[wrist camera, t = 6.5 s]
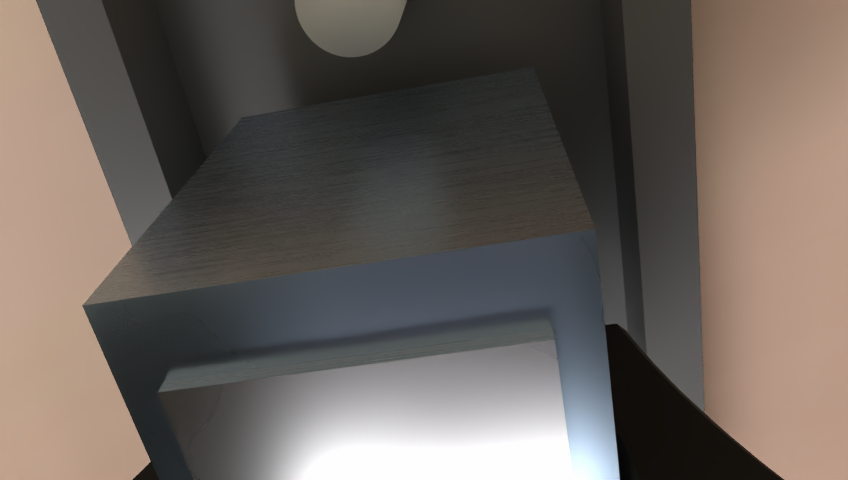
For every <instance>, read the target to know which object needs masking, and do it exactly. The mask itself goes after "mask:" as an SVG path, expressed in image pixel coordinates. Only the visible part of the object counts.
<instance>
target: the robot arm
mask: <svg viewBox="0 0 848 480" xmlns="http://www.w3.org/2000/svg"><path fill="white" fill-rule="evenodd" d="M605 331H606V341H607V352H608V362H609V372H610V382H611V393H612V403H613V413H614V423H615V434H616V444H617V454H618V464H619V475H620V480H784V479H783V478H781V477H780V476H779V475H777V474H776V473H775V472H773V471H772V470H771V469H770V468H768V467H767V466H766V465H765V464H763V463H762V462H761V461H759V460H758V459H757V458H756V457H755V456H753V455H752V454H751V453H750V452H749V451H747V450H746V449H745V448H744V447H743V446H741V445H740V444H739V443H738V442H737V441H735V440H734V439H733V438H732V437H731V436H729V435H728V434H727V433H726V432H725V431H724V430H723V429H722V428H720V427H719V426H718V425H717V424H716V423H715V422H714V421H712V420H711V419H710V418H709V417H708V416H707V415H706V414H705V413H704V412H703V411H702V410H701V409H700V408H699V407H698V406H697V405H695V404H694V403H693V402H692V401H691V400H690V399H689V398H688V397H687V396H686V395H685V394H684V393H683V392H682V391H681V390H680V389H679V388H678V387H677V386H676V385H675V384H674V383H673V382H672V381H671V380H670V379H669V378H668V377H667V376H666V375H665V374H664V373H663V372H662V371H661V370H660V369H659V368H658V367H657V366H656V365H655V364H654V363H653V361H652V360H651V359H650V358H649V357H648V356H647V355H646V354H645V353H644V351H643V350H642V349H641V348H640V347H639V346H638V345H637V343H636V342H635V341H634V340H633V339H632V337H631V336H630V335H629V334H628V332H627V331H626V330H625V329H624V328H622V327H621V326H619V325H618V324H610V325H605ZM133 480H159V478H158V476H157V474H156V472H155V469H154V467H153V465H152V463H151V462H150V463H149V464H148V465H147V466H146V467H145V468H144V469H143V470H142V471H141V472H140V473H139V474H138V475H137V476H136V477H135V478H134V479H133Z"/></svg>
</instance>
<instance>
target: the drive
mask: <svg viewBox="0 0 848 480" xmlns="http://www.w3.org/2000/svg"><path fill="white" fill-rule="evenodd" d="M83 308H84V310H85V312H86V315H87V317H88V319H89V322H90V324H91V326H92V328H93V331H94V333H95V335H96V337H97V340H98V342H99V344H100V347H101V349H102V351H103V353H104V356H105V358H106V360H107V362H108V365H109V367H110V369H111V372H112V374H113V376H114V378H115V381H116V383H117V385H118V387H119V390H120V392H121V394H122V397H123V399H124V401H125V403H126V406H127V408H128V410H129V412H130V415H131V417H132V419H133V422H134V424H135V426H136V428H137V431H138V433H139V435H140V438H141V440H142V442H143V444H144V447H145V449H146V451H147V453H148V456H149V458H150V460H151V463H152V465H153V467H154V469H155V472H156V474H157V476H158V478H159V480H620V475H619V464H618V454H617V444H616V434H615V423H614V413H613V403H612V393H611V382H610V372H609V362H608V352H607V341H606V331H605V321H604V311H603V300H602V290H601V280H600V270H599V259H598V249H597V239H596V229H595V227H594V224H593V221H592V219H591V216H590V214H589V211H588V208H587V206H586V203H585V201H584V198H583V195H582V193H581V190H580V188H579V185H578V182H577V180H576V177H575V175H574V172H573V170H572V167H571V164H570V162H569V159H568V157H567V154H566V151H565V149H564V146H563V144H562V141H561V138H560V136H559V133H558V131H557V128H556V125H555V123H554V120H553V118H552V115H551V112H550V110H549V107H548V105H547V102H546V100H545V97H544V94H543V92H542V89H541V87H540V84H539V81H538V79H537V76H536V74H535V71H534V68H533V67H528V68H522V69H517V70H511V71H505V72H499V73H494V74H488V75H482V76H476V77H471V78H465V79H459V80H453V81H448V82H442V83H436V84H430V85H425V86H419V87H413V88H407V89H402V90H396V91H390V92H385V93H379V94H373V95H367V96H362V97H356V98H350V99H344V100H339V101H333V102H327V103H321V104H316V105H310V106H304V107H298V108H293V109H287V110H281V111H275V112H270V113H264V114H258V115H253V116H247V117H242V118H241V119H240V120H239V121H238V122H237V124H236V125H235V126H234V127H233V128H232V130H231V131H230V132H229V133H228V134H227V135H226V137H225V138H224V139H223V140H222V141H221V143H220V144H219V145H218V146H217V147H216V148H215V150H214V151H213V152H212V153H211V154H210V156H209V157H208V158H207V159H206V160H205V161H204V163H203V164H202V165H201V166H200V167H199V169H198V170H197V171H196V172H195V173H194V174H193V176H192V177H191V178H190V179H189V180H188V182H187V183H186V184H185V185H184V186H183V187H182V189H181V190H180V191H179V192H178V193H177V195H176V196H175V197H174V198H173V199H172V200H171V202H170V203H169V204H168V205H167V206H166V208H165V209H164V210H163V211H162V212H161V213H160V215H159V216H158V217H157V218H156V219H155V221H154V222H153V223H152V224H151V225H150V226H149V228H148V229H147V230H146V231H145V232H144V234H143V235H142V236H141V237H140V238H139V239H138V241H137V242H136V243H135V244H134V245H133V247H132V248H131V249H130V250H129V251H128V252H127V254H126V255H125V256H124V257H123V258H122V260H121V261H120V262H119V263H118V264H117V265H116V267H115V268H114V269H113V270H112V271H111V272H110V274H109V275H108V276H107V277H106V278H105V280H104V281H103V282H102V283H101V284H100V285H99V287H98V288H97V289H96V290H95V291H94V293H93V294H92V295H91V296H90V297H89V298H88V300H87V301H86V302H85V303H84V304H83Z"/></svg>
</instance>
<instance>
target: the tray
mask: <svg viewBox="0 0 848 480" xmlns="http://www.w3.org/2000/svg"><path fill="white" fill-rule="evenodd" d="M36 2H37V4H38V7H39V9H40V12H41V14H42V17H43V19H44V22H45V25H46V27H47V30H48V32H49V35H50V37H51V40H52V42H53V45H54V48H55V50H56V53H57V55H58V58H59V60H60V63H61V65H62V68H63V71H64V73H65V76H66V78H67V81H68V83H69V86H70V88H71V91H72V94H73V96H74V99H75V101H76V104H77V106H78V109H79V111H80V114H81V117H82V119H83V122H84V124H85V127H86V129H87V132H88V134H89V137H90V139H91V142H92V145H93V147H94V150H95V152H96V155H97V157H98V160H99V162H100V165H101V168H102V170H103V173H104V175H105V178H106V180H107V183H108V185H109V188H110V191H111V193H112V196H113V198H114V201H115V203H116V206H117V208H118V211H119V214H120V216H121V219H122V221H123V224H124V226H125V229H126V231H127V234H128V237H129V239H130V242H131V244H132V247H133V245H134V244H135V243H136V242H137V241H138V239H139V238H140V237H141V236H142V235H143V234H144V232H145V231H146V230H147V229H148V228H149V226H150V225H151V224H152V223H153V222H154V221H155V219H156V218H157V217H158V216H159V215H160V213H161V212H162V211H163V210H164V209H165V208H166V206H167V205H168V204H169V203H170V202H171V200H172V199H173V198H174V197H175V196H176V195H177V193H178V192H179V191H180V190H181V189H182V187H183V186H184V185H185V184H186V183H187V182H188V180H189V179H190V178H191V177H192V176H193V174H194V173H195V172H196V171H197V170H198V169H199V167H200V166H201V165H202V164H203V163H204V161H205V160H206V159H207V158H208V157H209V156H210V154H211V153H212V152H213V151H214V150H215V148H216V147H217V146H218V145H219V144H220V143H221V141H222V140H223V139H224V138H225V137H226V135H227V134H228V133H229V132H230V131H231V130H232V128H233V127H234V126H235V125H236V124H237V122H238V121H239V120H240V119H241V118H242V117H247V116H253V115H258V114H264V113H270V112H275V111H281V110H287V109H293V108H298V107H304V106H310V105H316V104H321V103H327V102H333V101H339V100H344V99H350V98H356V97H362V96H367V95H373V94H379V93H385V92H390V91H396V90H402V89H407V88H413V87H419V86H425V85H430V84H436V83H442V82H448V81H453V80H459V79H465V78H471V77H476V76H482V75H488V74H494V73H499V72H505V71H511V70H517V69H522V68H528V67H533V68H534V71H535V74H536V76H537V79H538V81H539V84H540V87H541V89H542V92H543V94H544V97H545V100H546V102H547V105H548V107H549V110H550V112H551V115H552V118H553V120H554V123H555V125H556V128H557V131H558V133H559V136H560V138H561V141H562V144H563V146H564V149H565V151H566V154H567V157H568V159H569V162H570V164H571V167H572V170H573V172H574V175H575V177H576V180H577V182H578V185H579V188H580V190H581V193H582V195H583V198H584V201H585V203H586V206H587V208H588V211H589V214H590V216H591V219H592V221H593V224H594V227H595V229H596V239H597V249H598V259H599V270H600V280H601V290H602V300H603V311H604V321H605V325H610V324H618V325H619V326H621V327H622V328H624V329H625V330H626V331H627V332H628V334H629V335H630V336H631V337H632V339H633V340H634V341H635V342H636V343H637V345H638V346H639V347H640V348H641V349H642V350H643V351H644V353H645V354H646V355H647V356H648V357H649V358H650V359H651V360H652V361H653V363H654V364H655V365H656V366H657V367H658V368H659V369H660V370H661V371H662V372H663V373H664V374H665V375H666V376H667V377H668V378H669V379H670V380H671V381H672V382H673V383H674V384H675V385H676V386H677V387H678V388H679V389H680V390H681V391H682V392H683V393H684V394H685V395H686V396H687V397H688V398H689V399H690V400H691V401H692V402H693V403H694V404H695V405H697V406H698V407H699V408H700V409H701V410H702V411H703V412H704V388H703V358H702V327H701V297H700V266H699V236H698V205H697V175H696V144H695V114H694V83H693V53H692V22H691V0H36Z"/></svg>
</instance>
